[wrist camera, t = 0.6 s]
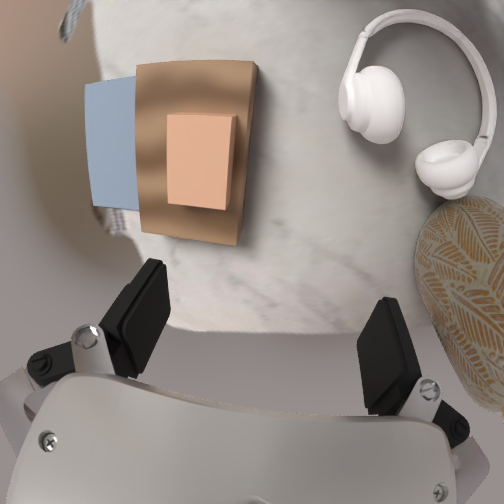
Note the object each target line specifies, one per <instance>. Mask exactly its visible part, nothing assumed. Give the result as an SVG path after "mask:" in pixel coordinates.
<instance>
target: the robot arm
mask: <svg viewBox="0 0 504 504" xmlns="http://www.w3.org/2000/svg"><path fill="white" fill-rule="evenodd" d="M170 311H171V307H170V299H169V290H168V280H167V269H166V265H165V264H163V262H162V261H161V260H157V259H152V258H149V259H148V260H147V261H146V262H145V264H144V265H143V266H142V268H141V269H140V271H139V272H138V273H137V275H136V276H135V277H134V279H133V280H132V282H131V283H130V284H127V285H126V286H125V287H124V289H123V290H122V291H121V293H120V294H119V296H118V297H117V298H116V300H115V301H114V303H113V304H112V306H111V307H110V308H109V310H108V311H107V313H106V314H105V316H104V317H103V319H102V320H101V322H100V324H99V325H95V324H84V325H81V326H79V327H78V328H77V329H76V330H75V331H74V332H73V334H72V336H71V341H69V342H66V343H63V344H60V345H57V346H54V347H51V348H48V349H45V350H42V351H39V352H37V353H34V354H33V355H32V356H31V357H30V359H29V361H28V363H27V367H26V368H25V369H24V368H23V367H21V368H20V369H18V370H17V371H15V372H14V373H12V374H11V375H9V376H8V377H7V378H5V379H4V380H2V381H1V382H0V423H1V426H2V428H3V430H4V432H5V434H6V437H7V439H8V441H9V443H10V445H11V446H12V449H13V451H14V453H15V454H16V456H17V458H18V459H17V462H16V465H15V469H14V472H13V475H12V478H11V482H10V486H9V490H8V494H7V500H6V504H464V503H465V502H466V501H467V500H468V499H469V498H470V496H471V495H472V494H473V493H474V492H475V490H476V489H477V488H478V487H479V485H480V484H481V483H482V481H483V480H484V479H485V478H486V476H487V475H488V473H489V469H490V465H489V461H488V459H487V457H486V456H485V454H484V453H483V451H482V450H481V448H480V447H479V445H478V444H477V442H476V441H475V439H474V438H473V436H471V437H469V433H470V427H469V423H468V422H467V420H466V419H465V418H464V417H463V416H462V415H461V414H460V413H458V412H457V411H456V410H455V409H453V408H452V407H451V406H450V405H448V404H447V403H446V402H445V401H443V400H442V396H443V389H442V387H441V385H440V383H439V382H438V381H437V380H436V379H435V378H433V377H430V376H423V377H422V374H421V370H420V366H419V363H418V359H417V356H416V353H415V350H414V346H413V343H412V340H411V337H410V334H409V331H408V328H407V326H406V323H405V320H404V317H403V314H402V312H401V309H400V306H399V304H398V301H397V299H396V298H390V297H383V298H382V300H379V301H378V303H377V304H376V306H375V308H374V310H373V312H372V314H371V316H370V318H369V320H368V322H367V324H366V325H365V327H364V329H363V331H362V333H361V334H360V336H359V338H358V340H357V351H358V358H359V363H360V371H361V378H362V386H363V394H364V403H365V408H368V414H369V415H373V414H378V415H379V416H328V415H310V414H298V413H287V412H277V411H269V410H262V409H255V408H248V407H242V406H236V405H230V404H226V403H220V402H215V401H210V400H206V399H201V398H197V397H192V396H189V395H184V394H181V393H177V392H173V391H169V390H166V389H162V388H158V387H155V386H151V385H148V384H144V383H141V382H138V381H135V380H131V379H128V378H127V377H128V376H129V377H132V378H135V379H137V376H138V374H139V373H140V374H141V373H143V371H144V369H145V367H146V365H147V362H148V360H149V358H150V356H151V353H152V352H153V349H154V347H155V345H156V343H157V341H158V339H159V336H160V335H161V332H162V330H163V328H164V326H165V324H166V322H167V320H168V318H169V316H170Z"/></svg>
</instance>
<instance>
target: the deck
mask: <svg viewBox="0 0 504 504" xmlns="http://www.w3.org/2000/svg"><path fill="white" fill-rule="evenodd" d="M257 70H258V66H257V65H256V64H255V63H254V62H253V61H236V60H189V61H171V62H160V63H150V64H142V65H137V69H136V87H135V155H136V175H137V189H138V201H139V212H140V221H141V230H142V232H145V233H152V234H158V235H165V236H172V237H179V238H185V239H192V240H199V241H206V242H212V243H219V244H226V245H232V246H236V245H237V243H238V240H239V237H240V234H241V231H242V223H243V212H244V201H245V190H246V179H247V168H248V158H249V147H250V137H251V127H252V117H253V107H254V98H255V88H256V79H257ZM177 112H184V113H216V114H232V115H237V120H236V132H235V144H234V157H233V170H232V184H231V199H230V202H229V204H228V206H227V208H226V210H220V209H213V208H205V207H196V206H188V205H179V204H170V203H168V193H167V115H169V114H173V113H177Z"/></svg>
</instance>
